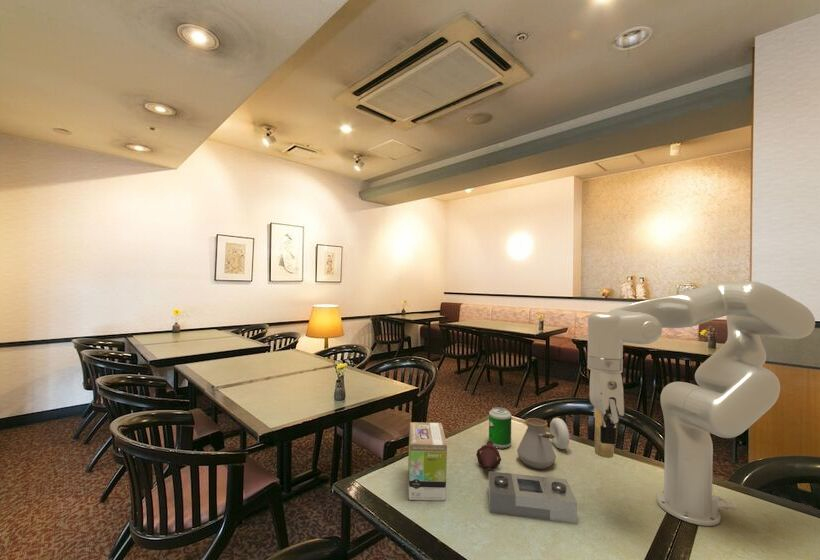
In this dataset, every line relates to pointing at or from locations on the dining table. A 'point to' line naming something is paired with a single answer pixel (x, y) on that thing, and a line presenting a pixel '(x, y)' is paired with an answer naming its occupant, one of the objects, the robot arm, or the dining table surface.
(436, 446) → the tea box
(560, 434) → the donut
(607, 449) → the pin
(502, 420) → the soda can
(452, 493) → the dining table surface
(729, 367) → the robot arm
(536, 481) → the grey rectangular block
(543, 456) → the coffee pot
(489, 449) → the icecream
